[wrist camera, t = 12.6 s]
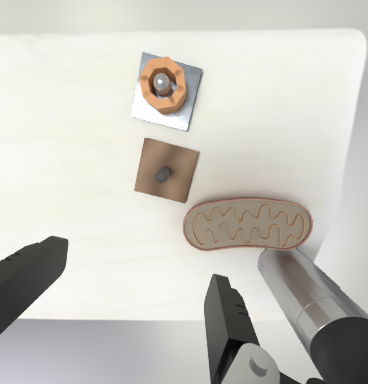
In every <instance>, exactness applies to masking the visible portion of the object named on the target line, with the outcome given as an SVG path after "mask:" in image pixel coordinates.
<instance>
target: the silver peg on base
mask: <svg viewBox="0 0 368 384" xmlns="http://www.w3.org/2000/svg"><path fill="white" fill-rule="evenodd" d="M157 58H162V57H158V56H155V55H151V54H148V53H144V52H143V53H142V59H141V65H140V70H139V76H140V74H141V73H142V71H143V69H144V68H145V66H146V64H147V63H148V61H149V60H151V59H157ZM174 62H175V63H176V64H177V65H179V66H180V67H181V68H182V69H183V71H184V78H185V86H186V100H185V101H184V102H183V104H182V105H181V107H180V108H179V110H178V111H177V112H174V113H168V114H161V113H159V112H158V111H157V110H155V109H154V108H153V107H152V106H150V105H149V104H148V103H147V102H146V100H145V99H144V98H143V97H142V92H141V86H140V80H139V76H138V81H137V87H136V93H135V98H134V104H133V109H132V115H131V116H132V117H135V118H139V119H143V120H147V121H150V122H154V123H158V124H161V125H165V126H169V127H173V128H176V129H180V130H184V131H187V129H188V125H189V121H190V117H191V113H192V109H193V105H194V101H195V97H196V93H197V89H198V85H199V81H200V77H201V73H202V69H200V68H197V67H193V66H190V65H186V64H183V63H179V62H176V61H174ZM153 84H154V87H155V89H154V94H155V96H156V97H157V98H158V99H165V98H171V96H172V95H173V93H174V92H175V90H176V89H177V85H175V84H174V83H173V82H172V81H170V79H169V77H168V76H167V75H166V74H164V73H158V74H157V75H156V76H155V77H154V80H153Z"/></svg>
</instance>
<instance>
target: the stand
mask: <svg viewBox="0 0 368 384" xmlns="http://www.w3.org/2000/svg"><path fill="white" fill-rule="evenodd" d="M198 153H199V152H197V151H193V150H189V149H185V148H182V147H178V146H174V145H170V144H167V143H163V142H159V141H155V140H152V139H148V138H145V139H144V144H143V149H142V154H141V159H140V164H139V169H138V174H137V179H136V184H135V189H134V191H138V192H142V193H146V194H150V195H154V196H158V197H162V198H166V199H170V200H174V201H178V202H182V203H185V201H186V197H187V193H188V190H189V186H190V182H191V179H192V175H193V171H194V168H195V164H196V160H197V156H198Z"/></svg>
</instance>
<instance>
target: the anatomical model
mask: <svg viewBox="0 0 368 384" xmlns="http://www.w3.org/2000/svg"><path fill="white" fill-rule="evenodd" d="M312 226H313V221H312V217H311V215H310V213H309V211H308V210H307V209H306V208H304V207H303V206H301V205H299V204H297V203H293V202H288V201H281V200H273V199H264V198H233V199H224V200H218V201H211V202H205V203H201V204H198V205H196V206H194V207H193V208H192V209H190V211H189V212H188V213H187V215H186V216H185V219H184V222H183V233H184V236H185V239H186V240H187V241H188V243H189V244H190V245H191V246H193V247H194V248H196V249H198V250H202V251H213V250H220V249H227V248H241V247H256V248H268V249H276V250H284V251H287V250H292V249H294V248H297V247H299V246H300V245H302V244H303V243H304V242H305V241H306V240H307V238H308V237H309V236H310V234H311V231H312Z"/></svg>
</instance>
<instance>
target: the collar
mask: <svg viewBox="0 0 368 384" xmlns="http://www.w3.org/2000/svg"><path fill="white" fill-rule="evenodd" d="M158 73H164V74H166V75H167V76H168V77H169V79H170V81H172V82H173V83H174V84H175V85H177V89H176V90H175V92H174V93H173V95H172V96H171V98H165V99H158V98H157V97H156V96H155V94H154V89H155V87H154V84H153V80H154V77H155V76H156V75H157V74H158ZM139 80H140V86H141V92H142V97H143V98H144V99H145V100H146V102H147V103H148V104H149V105H150V106H152V107H153V108H154V109H155V110H157V111H158V112H159V113H161V114H168V113H174V112H177V111H178V110H179V108H180V107H181V105H182V104H183V102H184V101H185V100H186V86H185V78H184V71H183V69H182V68H181V67H180V66H179V65H177V64H176V63H175V62H174V61H173V60H171V59H170V58H169V57H163V58H157V59H151V60H149V61H148V63H147V64H146V66H145V68H144V69H143V71H142V73H141V74H140V76H139Z"/></svg>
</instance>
